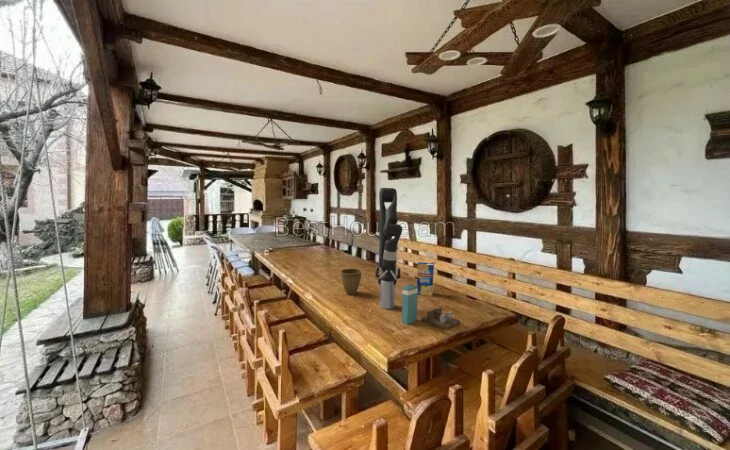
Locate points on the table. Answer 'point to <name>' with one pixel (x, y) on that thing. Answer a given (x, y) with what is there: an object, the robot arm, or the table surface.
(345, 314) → the table surface
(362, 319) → the table surface
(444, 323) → the book rack
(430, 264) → the blue food box
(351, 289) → the plant pot
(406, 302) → the book
